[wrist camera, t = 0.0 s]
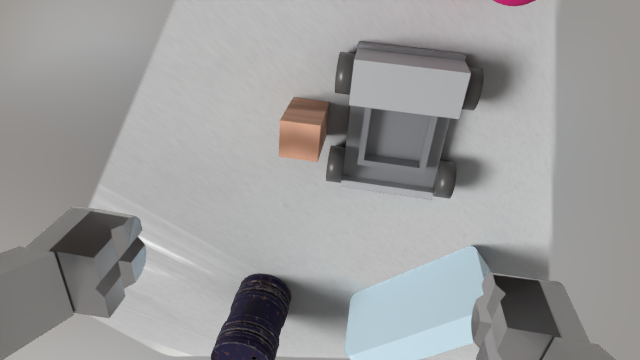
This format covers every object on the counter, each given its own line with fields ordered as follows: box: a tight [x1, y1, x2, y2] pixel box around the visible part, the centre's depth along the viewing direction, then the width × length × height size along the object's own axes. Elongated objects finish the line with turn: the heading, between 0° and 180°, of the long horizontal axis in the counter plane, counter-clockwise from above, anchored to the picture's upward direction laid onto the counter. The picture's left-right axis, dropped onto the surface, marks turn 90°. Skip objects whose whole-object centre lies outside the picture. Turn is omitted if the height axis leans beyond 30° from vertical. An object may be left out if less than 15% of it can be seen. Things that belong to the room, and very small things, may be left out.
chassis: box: [326, 41, 483, 200], centre depth 56 cm, size 20×17×6 cm
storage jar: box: [211, 274, 291, 360], centre depth 74 cm, size 10×10×15 cm
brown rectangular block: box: [279, 97, 329, 162], centre depth 57 cm, size 5×5×8 cm
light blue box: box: [344, 246, 492, 360], centre depth 68 cm, size 23×6×13 cm, turn 126°
